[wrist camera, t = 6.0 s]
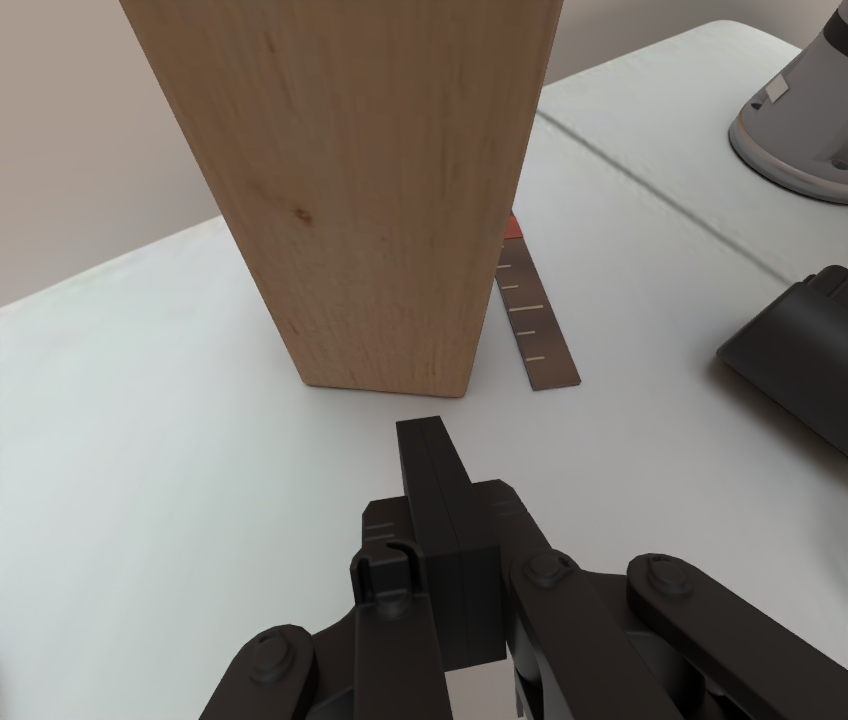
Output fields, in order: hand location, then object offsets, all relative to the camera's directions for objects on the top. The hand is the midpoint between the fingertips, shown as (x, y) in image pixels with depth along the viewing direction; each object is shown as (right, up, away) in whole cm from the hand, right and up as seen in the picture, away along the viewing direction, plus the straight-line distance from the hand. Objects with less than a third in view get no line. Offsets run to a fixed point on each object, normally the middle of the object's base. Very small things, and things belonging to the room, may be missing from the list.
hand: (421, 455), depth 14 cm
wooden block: (-2, +5, +14) cm, 15 cm away
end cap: (+23, +1, +12) cm, 26 cm away
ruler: (+7, +10, +17) cm, 21 cm away
